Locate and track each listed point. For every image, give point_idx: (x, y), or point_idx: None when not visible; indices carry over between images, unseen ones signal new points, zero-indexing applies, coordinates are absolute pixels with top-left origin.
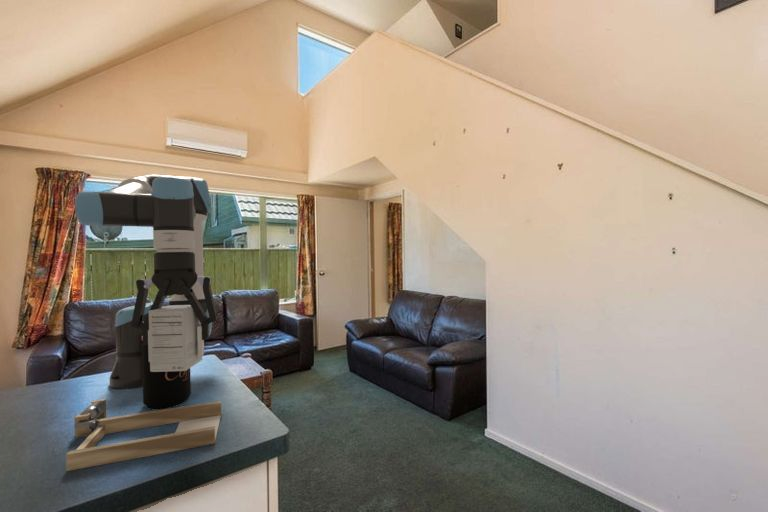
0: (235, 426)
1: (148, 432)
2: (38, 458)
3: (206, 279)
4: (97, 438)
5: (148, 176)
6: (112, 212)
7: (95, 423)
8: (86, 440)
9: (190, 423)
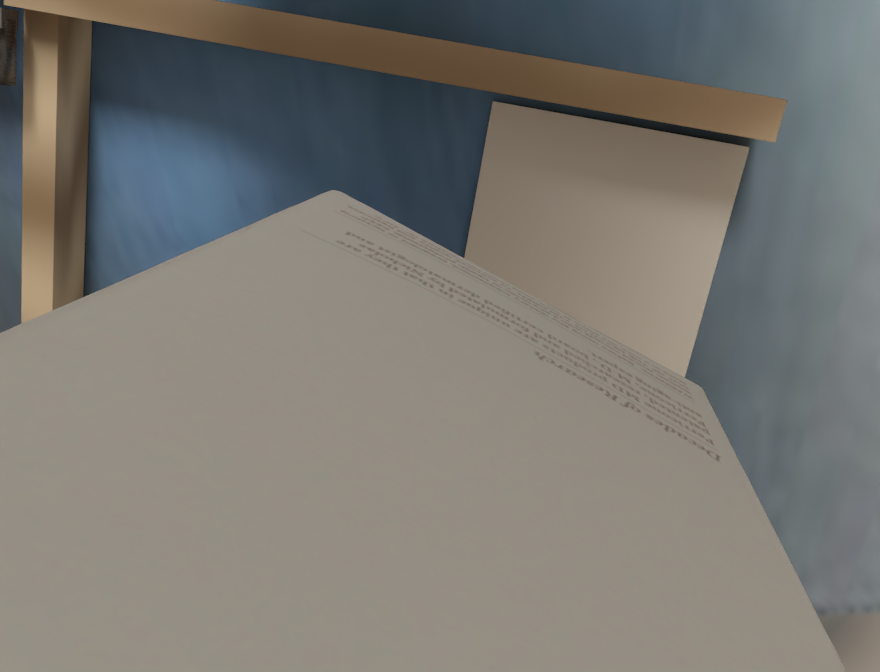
0: (795, 360)
1: (323, 143)
2: None
3: None
4: (74, 129)
5: None
6: None
7: (3, 63)
8: (32, 204)
9: (552, 172)
